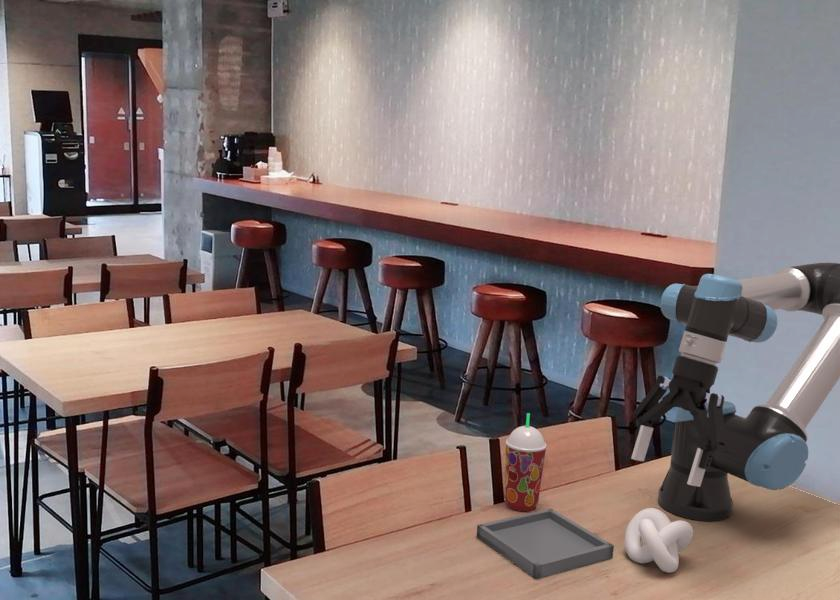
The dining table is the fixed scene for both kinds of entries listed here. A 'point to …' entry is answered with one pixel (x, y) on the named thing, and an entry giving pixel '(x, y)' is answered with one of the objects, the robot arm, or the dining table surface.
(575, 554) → the tray
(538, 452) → the smoothie
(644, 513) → the white trefoil knot
